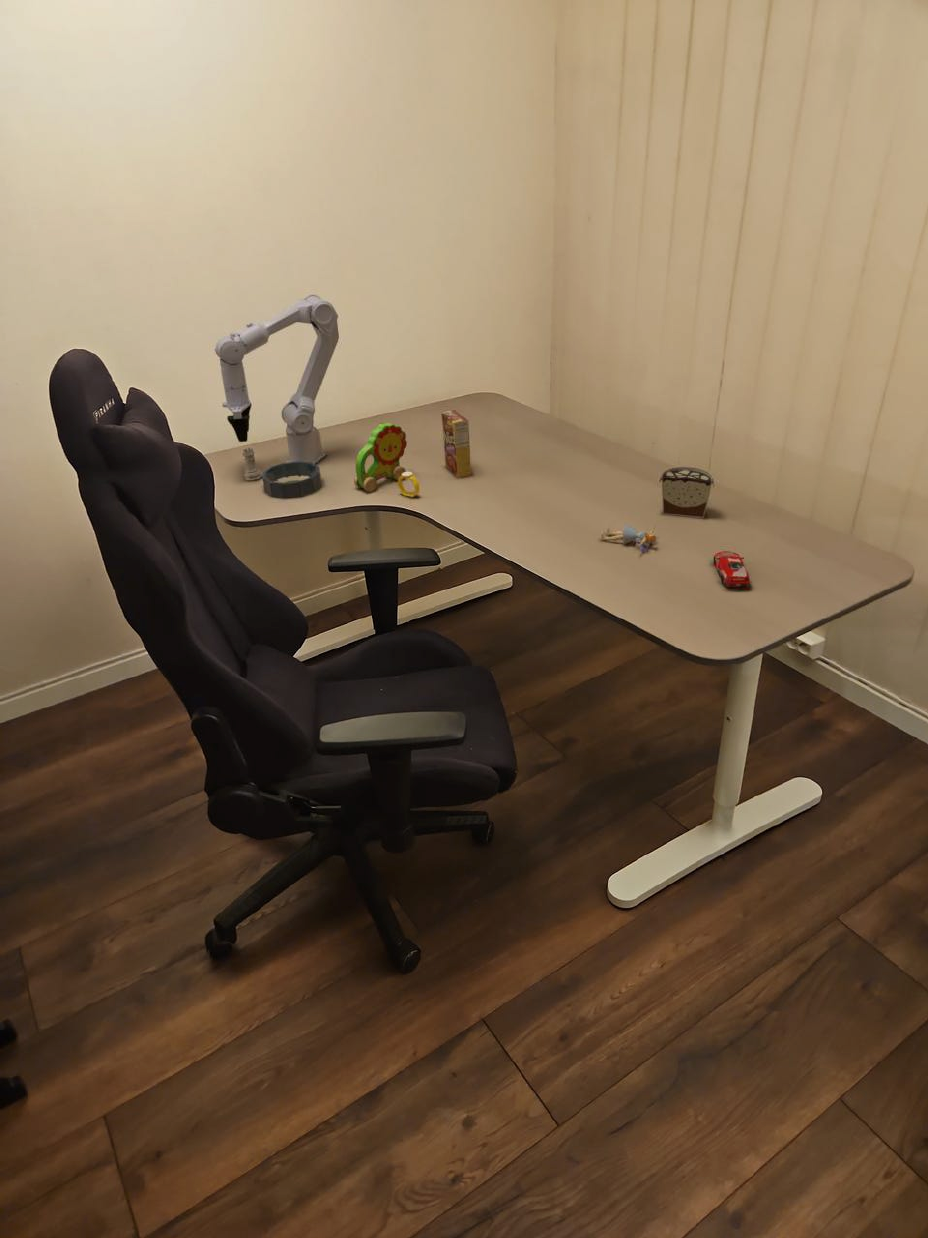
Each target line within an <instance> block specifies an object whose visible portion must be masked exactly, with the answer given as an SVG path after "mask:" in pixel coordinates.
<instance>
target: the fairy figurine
mask: <svg viewBox="0 0 928 1238" xmlns="http://www.w3.org/2000/svg"><path fill="white" fill-rule="evenodd" d="M655 529H656V524H654V525H653V528H652V530H651V531H650V532H649V533H647V532H646V531H641V532H639V530H637V529H636V528H634V527H633V526H631V525H630V524H626V525H625V527H624V528H623V531H612V530H611V528H610V526H609V525H608V526H606V534H607V535H608V536H606V535H605V532H604V531H601V533H600V535H601V541H611V542H615V541H618V540H621V539H622V541H623V544H625V545H626V544H628V543H631V542H634V541H635V540H636V544H635V548H640V549H641V550H642V551H643V552H644V553H646V550H648V545H649V544H648V543H651V544H655V541H656V539H657V538H656V535H655V534H654V530H655ZM637 539H638V540H637ZM643 546H644V547H643Z"/></svg>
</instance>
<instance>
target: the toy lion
mask: <svg viewBox="0 0 928 1238" xmlns="http://www.w3.org/2000/svg"><path fill="white" fill-rule="evenodd" d="M406 438H407V433H406V432H405V431H404V430H403V429H402V427H401V426H399V425H396V424H394V423H391V422H385V423H380V424H378V425H377V426H376V428H375V429H373V430H372V431H371V434H370V437H368V440H367V444H366V445H365V446H363V447H362V448H361V449H360V451H358V452H359V453H358V454H357V456H356V459H355V460H356V461H355V476H354V478H353V479H354V480H353V484H354V486H355V487H357V488H359V489H363V490H365V491H366V492H368V493H369V492H370V493H371V492H374V491H375V490H376V488H377V485H378V481H380V480H382V479H385V478H393V479H394V480H397V481H398V480H399V477H400V476H402V473H404V472H407V471H406V468H405V467H403V466H401V465H400V460H401V458H402V457H403V456H404V454H405V449H406V448H407V446H408V445H407V444H408V443H407V439H406ZM370 456H372V457H373V462H372V464H371V465H370V466H369V468H368V469H367V470H366V461H367V459H368V458H369V457H370Z"/></svg>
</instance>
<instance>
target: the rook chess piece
mask: <svg viewBox="0 0 928 1238" xmlns="http://www.w3.org/2000/svg"><path fill="white" fill-rule="evenodd" d="M255 454H256V452H255V451H254V448H250V447H248V448H244V449H243V452H242V456H244V461H245V470H244V473H243V475H244V479H245V480H246V481H249V482H254V481H258V480H260V479H261V477H262V474H261V473H262V472H261V470H260V469H259V468H258V467H257V463H256V457H255Z"/></svg>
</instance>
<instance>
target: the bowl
mask: <svg viewBox="0 0 928 1238" xmlns="http://www.w3.org/2000/svg"><path fill="white" fill-rule="evenodd" d="M261 477H262V478H261V479H262V485H263V490H264V493H266V494H267V495H268V496H270V497H272V498H279V499H293V498H294V499H295V498H302V497H305V496H308V495H311V494H314V493H316V491H318V490H319V489H320V488H322V477H321V469H320V466H319V465H317V464H316V463H315V464H313V463H311V462H302V461H295V462H287V461H285V462H281V463H277V464H274V465H272V466H270V467H267V469H265V470H264V471H263V472H262V476H261Z"/></svg>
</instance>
